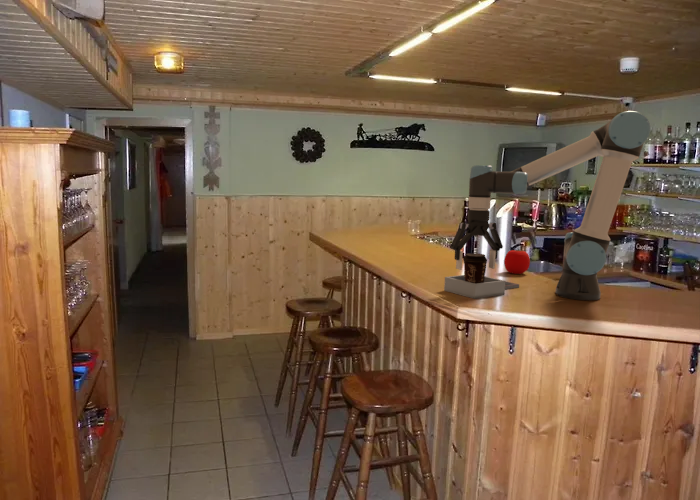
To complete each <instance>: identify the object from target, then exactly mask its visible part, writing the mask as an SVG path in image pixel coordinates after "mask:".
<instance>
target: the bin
mask: <svg viewBox="0 0 700 500" xmlns="http://www.w3.org/2000/svg"><path fill="white" fill-rule="evenodd" d="M505 281H506V280H503V279H498V278H494V277H489V276H486V275H485V279H484V283H477V284H475V283H471V282H466V281H465V278H464V274H460V275H452V276H445V277H444V285H443V286H444V288H443V290H444V292H449V293H453V294H456V295H459V296H463V297H465V298H466V297H467V298H470V299H474V300H475V299H476V300H477V299H482V298H490V297H496V296H504V295H505V292H506V291H505V290H506V289H505Z"/></svg>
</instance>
